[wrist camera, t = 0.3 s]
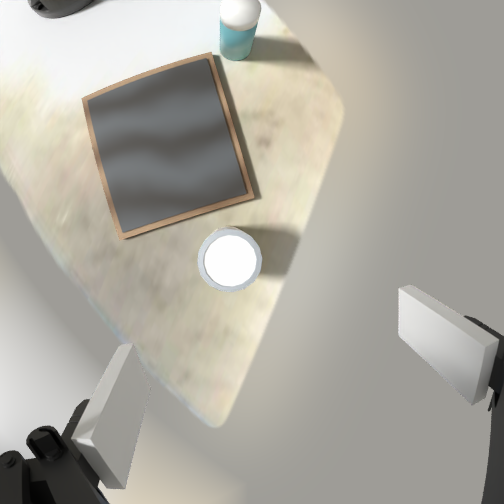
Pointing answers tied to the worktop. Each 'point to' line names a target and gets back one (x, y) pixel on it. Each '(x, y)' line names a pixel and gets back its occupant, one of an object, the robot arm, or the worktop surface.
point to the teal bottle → (238, 27)
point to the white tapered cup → (229, 259)
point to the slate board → (166, 146)
